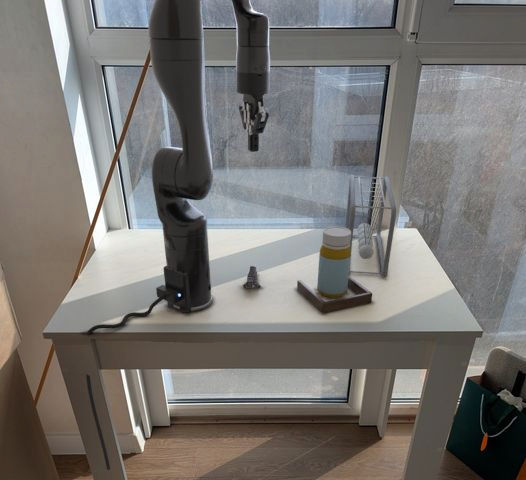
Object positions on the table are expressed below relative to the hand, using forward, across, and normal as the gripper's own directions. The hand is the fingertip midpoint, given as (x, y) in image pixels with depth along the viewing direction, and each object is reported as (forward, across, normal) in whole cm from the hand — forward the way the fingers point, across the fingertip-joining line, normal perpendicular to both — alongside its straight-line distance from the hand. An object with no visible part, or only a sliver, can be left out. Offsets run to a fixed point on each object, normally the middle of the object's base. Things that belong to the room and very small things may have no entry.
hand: (253, 150), depth 123 cm
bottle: (+27, +28, +8) cm, 40 cm away
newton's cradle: (+27, +12, +28) cm, 40 cm away
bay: (+27, +29, +8) cm, 41 cm away
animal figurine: (+27, +17, -8) cm, 33 cm away
